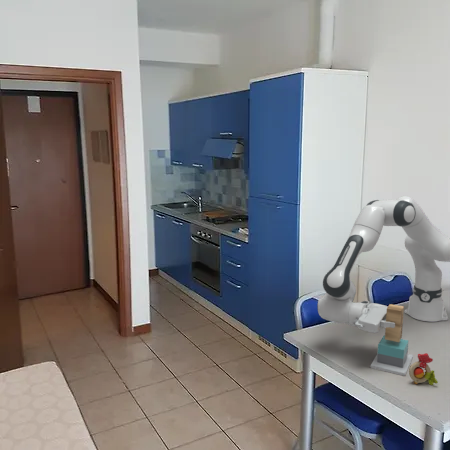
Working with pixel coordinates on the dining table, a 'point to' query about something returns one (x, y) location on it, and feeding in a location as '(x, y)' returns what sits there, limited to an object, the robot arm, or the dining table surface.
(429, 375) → the bird rattle
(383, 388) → the dining table surface
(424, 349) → the dining table surface
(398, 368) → the brick tower
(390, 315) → the oak brick
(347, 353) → the dining table surface
